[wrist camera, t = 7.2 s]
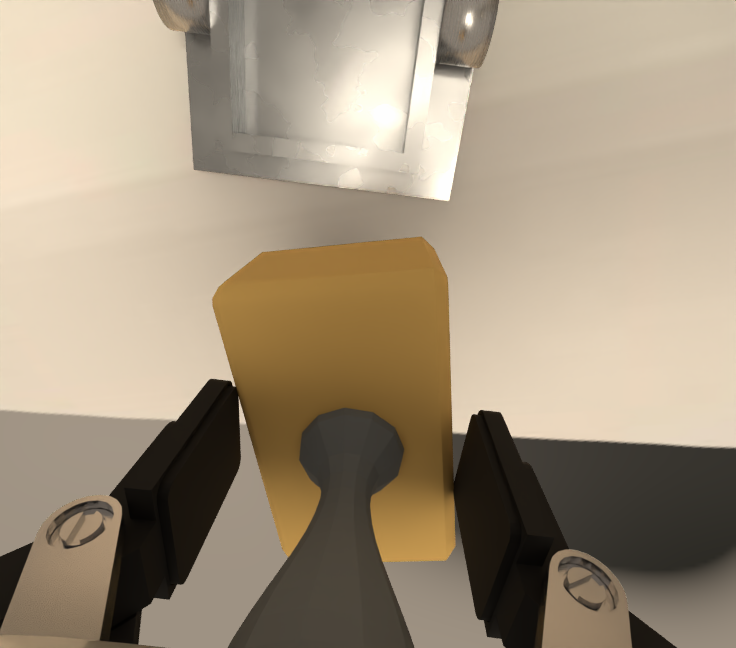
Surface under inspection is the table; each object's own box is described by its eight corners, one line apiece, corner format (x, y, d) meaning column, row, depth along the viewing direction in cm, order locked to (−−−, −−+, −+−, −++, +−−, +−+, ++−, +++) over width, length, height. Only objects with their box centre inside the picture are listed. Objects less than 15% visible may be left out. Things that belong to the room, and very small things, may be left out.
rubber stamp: (442, 477, 16) (559, 1186, 5) (304, 483, 16) (138, 1139, 6) (432, 235, 12) (870, 1072, 1) (252, 253, 13) (-686, 942, 2)
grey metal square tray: (515, -171, 20) (552, -264, 15) (446, 199, 27) (458, 207, 22) (180, -214, 20) (121, -320, 15) (201, 168, 27) (165, 171, 22)
